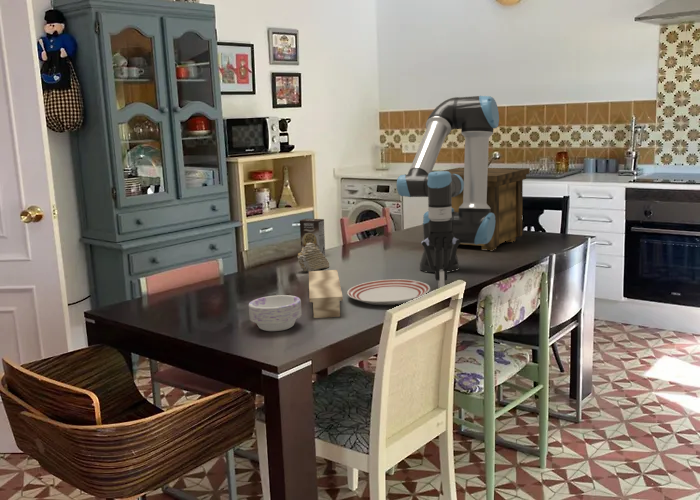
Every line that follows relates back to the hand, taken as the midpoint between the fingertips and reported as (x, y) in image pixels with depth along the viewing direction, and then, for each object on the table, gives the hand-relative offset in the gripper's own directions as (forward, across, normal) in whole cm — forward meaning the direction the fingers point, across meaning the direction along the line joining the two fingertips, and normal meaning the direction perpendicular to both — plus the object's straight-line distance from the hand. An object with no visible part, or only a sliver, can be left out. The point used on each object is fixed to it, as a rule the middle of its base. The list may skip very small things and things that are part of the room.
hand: (441, 289), depth 230 cm
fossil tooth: (+2, -42, +48) cm, 64 cm away
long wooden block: (+2, -39, 0) cm, 39 cm away
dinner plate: (+2, -18, 0) cm, 18 cm away
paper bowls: (+2, -54, -25) cm, 59 cm away
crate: (+2, +33, +83) cm, 89 cm away
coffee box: (+2, -41, +76) cm, 87 cm away
